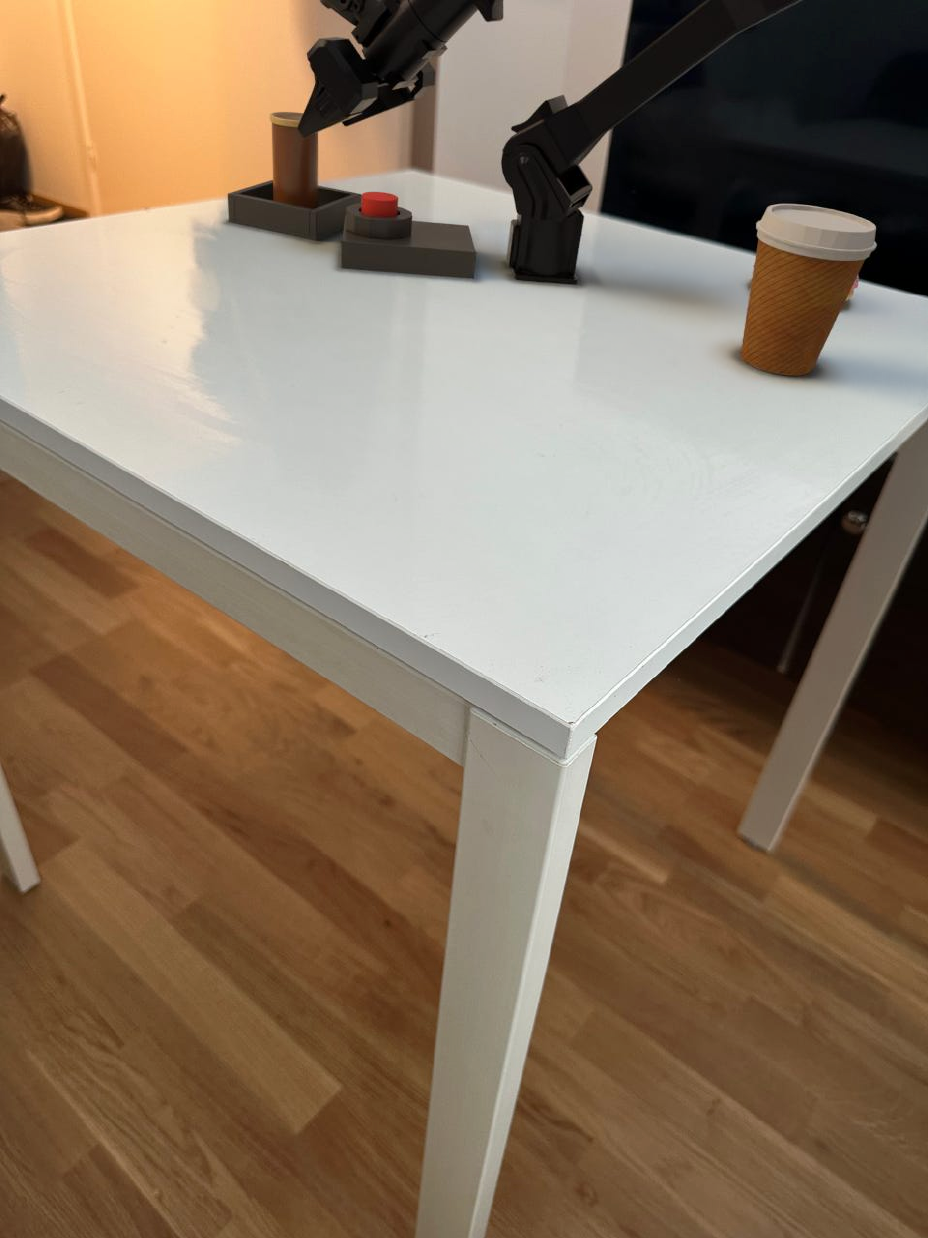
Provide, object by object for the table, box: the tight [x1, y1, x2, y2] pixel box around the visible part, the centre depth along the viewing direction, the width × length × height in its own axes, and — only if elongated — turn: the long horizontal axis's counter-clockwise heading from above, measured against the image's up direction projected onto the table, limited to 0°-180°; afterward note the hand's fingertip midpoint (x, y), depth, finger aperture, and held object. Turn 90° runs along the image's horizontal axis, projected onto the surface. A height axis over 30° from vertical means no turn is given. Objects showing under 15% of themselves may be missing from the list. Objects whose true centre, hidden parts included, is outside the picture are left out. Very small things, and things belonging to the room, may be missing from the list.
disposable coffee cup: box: [739, 203, 878, 376], centre depth 77 cm, size 10×10×12 cm
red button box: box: [340, 202, 477, 280], centre depth 94 cm, size 13×10×4 cm
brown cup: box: [269, 111, 319, 209], centre depth 99 cm, size 5×5×10 cm
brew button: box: [361, 191, 399, 217], centre depth 92 cm, size 4×4×2 cm
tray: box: [227, 179, 363, 242], centre depth 101 cm, size 11×11×3 cm
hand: (322, 127), depth 96 cm, fingers open, 9 cm apart
